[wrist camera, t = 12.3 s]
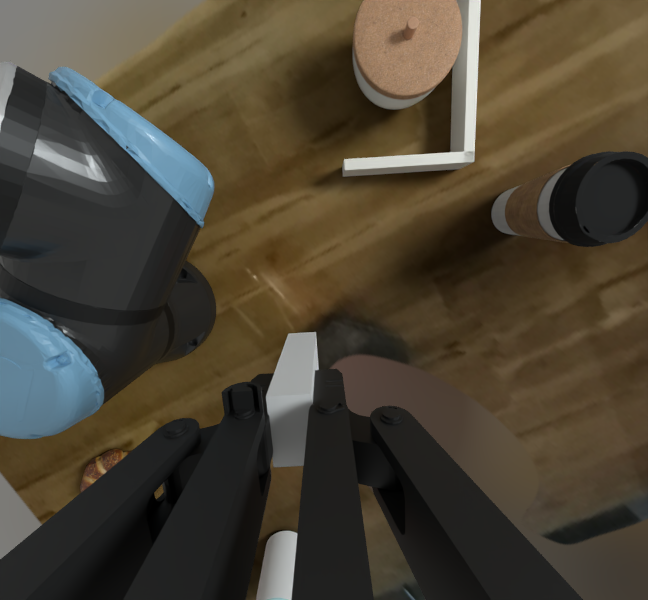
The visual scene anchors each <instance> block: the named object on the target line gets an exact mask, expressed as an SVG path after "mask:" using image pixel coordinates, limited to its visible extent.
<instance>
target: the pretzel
mask: <svg viewBox="0 0 648 600" xmlns="http://www.w3.org/2000/svg"><path fill="white" fill-rule="evenodd" d="M130 452H131V451H126V452H123V451H122V450H120V449H112V450H109V451H107V452H106V453H104V454H102V456H98V457H96V458H93V459H92V460H91V461H90V462H89V463H88V465H87V466H86V469H85V471H84V475H83V477H82V480H81V484H80V491H81V493H82V492H83V491H84V490H85V489H86V488H88V487H89V486H90V485H91V484H92V483H94V482H95V481H96V480H97V479H99V478H100V477H101V476H102V475H103V474H105V473H106V472H107V471H108V470H109V469H111V468H112V467H113V466H114V465H116V464H117V463H118V462H119V461H120V460H122V459H123V458H124V457H125V456H126V455H128V454H129V453H130Z"/></svg>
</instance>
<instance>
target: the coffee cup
mask: <svg viewBox="0 0 648 600" xmlns="http://www.w3.org/2000/svg"><path fill="white" fill-rule="evenodd" d="M491 217H492V221H493V224H494V225H495V227H496V228H497V229H498V230H499V231H501V232H503V233H506V234H511V235H521V236H525V237H532V238H538V239H545V240H551V241H558V242H567V243H570V244H573V245H577V246H583V247H589V246H590V247H593V246H600V245H604V244H607V243H614V242H619V241H622V240H624V239H627V238H628V237H630V236H632V235H633V234H635V233H636V232H637V231H638V230H639V229H641V228H642V226H643V225H644V224H645V223H646V222H647V221H648V158H647V157H645V156H644V155H642V154H639V153H635V152H602V153H597V154H592V155H589V156H586V157H583V158H581V159H579V160H578V161H576V162H574V163H573V164H571V165H568V166H565V167H563V168H560V169H558V170H556V171H553V172H551V173H548V174H546V175H544V176H541V177H539V178H536V179H534V180H532V181H529V182H527V183H524V184H523V185H520V186H517V187H515V188H512V189H510V190H507V191H505V192H504V193H502V194H501V195H500V196H499V197H498V198H497V199H496V201H495V202H494V204H493V207H492V212H491Z"/></svg>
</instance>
